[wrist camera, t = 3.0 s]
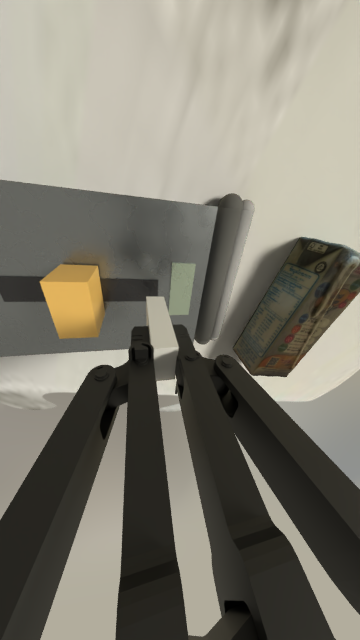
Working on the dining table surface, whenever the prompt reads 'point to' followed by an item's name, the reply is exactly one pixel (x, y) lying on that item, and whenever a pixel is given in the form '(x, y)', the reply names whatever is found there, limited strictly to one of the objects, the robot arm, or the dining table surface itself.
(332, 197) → the dining table surface
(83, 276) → the toggle
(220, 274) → the grey rounded bar
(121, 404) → the robot arm
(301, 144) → the dining table surface
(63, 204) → the breaker panel
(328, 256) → the beverage carton
